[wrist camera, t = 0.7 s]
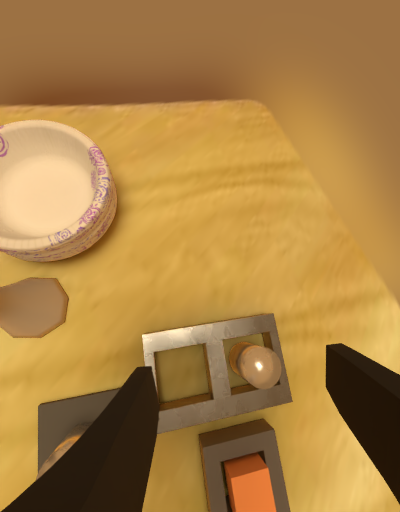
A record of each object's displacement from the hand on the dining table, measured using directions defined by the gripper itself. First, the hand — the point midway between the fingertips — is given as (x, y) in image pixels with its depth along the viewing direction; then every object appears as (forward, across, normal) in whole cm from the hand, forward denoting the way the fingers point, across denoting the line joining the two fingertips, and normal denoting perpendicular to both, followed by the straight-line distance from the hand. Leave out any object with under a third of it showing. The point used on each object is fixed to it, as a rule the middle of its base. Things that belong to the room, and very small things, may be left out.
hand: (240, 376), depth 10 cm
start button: (+11, -1, +22) cm, 24 cm away
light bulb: (+18, -3, +13) cm, 23 cm away
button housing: (+12, 0, +23) cm, 26 cm away
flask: (+18, +21, +3) cm, 28 cm away
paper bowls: (+25, +19, -7) cm, 32 cm away
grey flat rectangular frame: (+17, +1, +13) cm, 22 cm away
